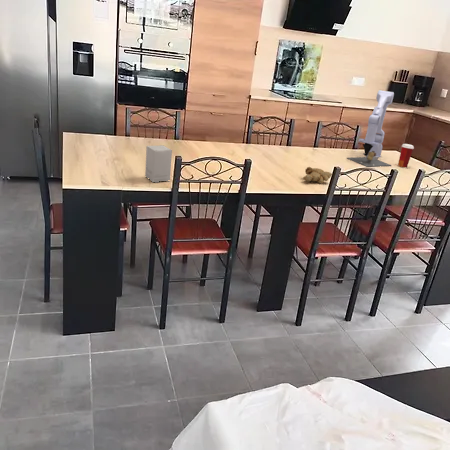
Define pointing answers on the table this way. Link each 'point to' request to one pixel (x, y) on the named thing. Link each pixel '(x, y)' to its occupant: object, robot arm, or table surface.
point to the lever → (371, 155)
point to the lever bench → (369, 161)
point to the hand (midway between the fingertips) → (365, 155)
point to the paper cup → (405, 155)
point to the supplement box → (158, 163)
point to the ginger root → (316, 175)
